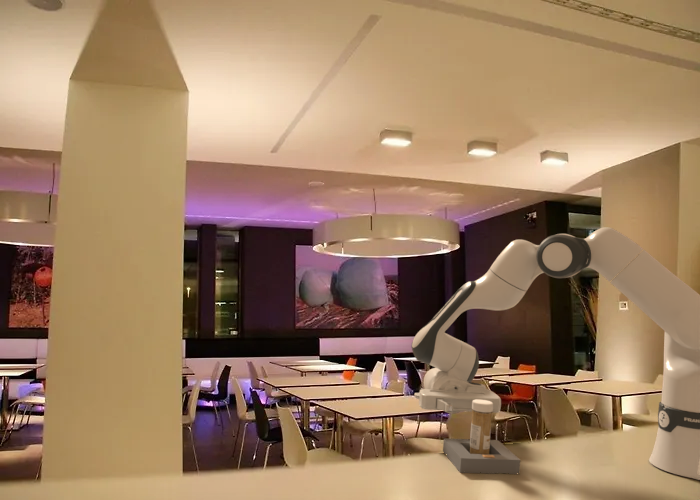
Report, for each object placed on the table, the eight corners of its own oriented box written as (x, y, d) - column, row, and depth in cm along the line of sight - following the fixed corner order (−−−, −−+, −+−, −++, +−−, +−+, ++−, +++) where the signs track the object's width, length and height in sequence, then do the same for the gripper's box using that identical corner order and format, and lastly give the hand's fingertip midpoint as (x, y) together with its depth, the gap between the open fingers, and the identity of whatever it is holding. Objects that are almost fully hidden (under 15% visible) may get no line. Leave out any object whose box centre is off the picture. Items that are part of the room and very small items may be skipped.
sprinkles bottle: (491, 465, 132) (496, 404, 132) (471, 465, 131) (476, 403, 131) (484, 458, 136) (489, 399, 136) (465, 457, 136) (469, 398, 136)
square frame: (496, 452, 141) (497, 439, 141) (519, 474, 128) (520, 459, 128) (442, 451, 139) (443, 437, 139) (459, 472, 126) (461, 457, 126)
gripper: (413, 380, 155) (426, 394, 141) (489, 384, 157) (510, 398, 144) (411, 405, 155) (424, 421, 141) (487, 408, 157) (508, 424, 144)
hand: (468, 409), depth 142 cm, fingers open, 8 cm apart
